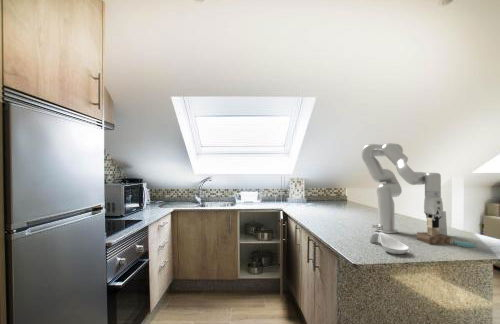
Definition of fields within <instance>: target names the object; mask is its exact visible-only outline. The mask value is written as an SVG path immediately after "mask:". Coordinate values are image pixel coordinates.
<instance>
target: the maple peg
mask: <svg viewBox="0 0 500 324" xmlns="http://www.w3.org/2000/svg"><path fill="white" fill-rule="evenodd" d="M432 220H433V218H426V226H427V228H426V229H427V234H429V235H432V236H439V228H433V227H432Z"/></svg>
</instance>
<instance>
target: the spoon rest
mask: <svg viewBox="0 0 500 324" xmlns="http://www.w3.org/2000/svg"><path fill="white" fill-rule="evenodd" d="M379 239H380V245H381V246H382V248H383V249H384V251H386V252H387V253H390V254H391V255H403V254H405V253H407V252H408V251H409V250H410V248H409V246H408V245H406V244H405V243H403V242H401V241H399V240H398V239H396V238H394V237H392V236H390V234H389V235H388V233H384V232H374V233H372V234H371V236H370V238H369V243H371V244H372V243H374V244H375V243H378V242H379Z"/></svg>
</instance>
